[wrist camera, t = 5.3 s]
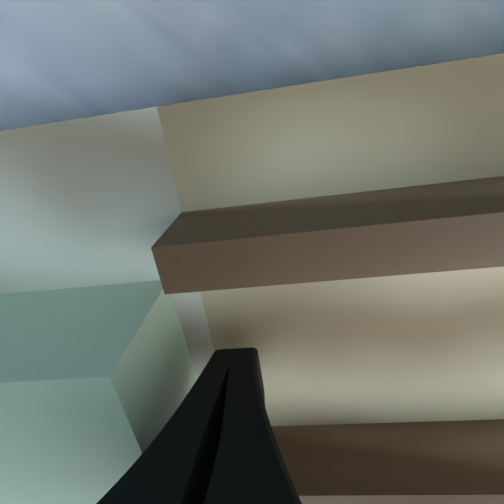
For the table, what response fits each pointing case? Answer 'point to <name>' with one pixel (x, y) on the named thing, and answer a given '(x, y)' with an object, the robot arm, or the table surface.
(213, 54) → the table surface
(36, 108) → the table surface
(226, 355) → the robot arm
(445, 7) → the table surface
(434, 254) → the trap track
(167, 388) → the sage block
